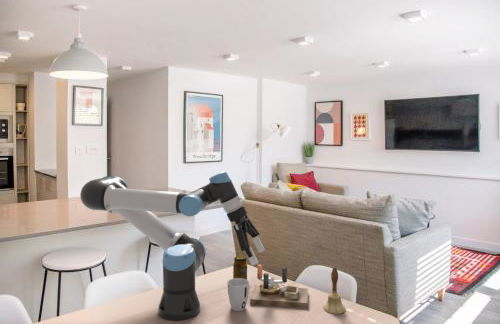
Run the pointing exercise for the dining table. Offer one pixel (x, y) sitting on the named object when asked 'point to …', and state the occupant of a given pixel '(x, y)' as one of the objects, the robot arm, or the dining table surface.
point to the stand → (281, 297)
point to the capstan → (270, 281)
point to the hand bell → (334, 297)
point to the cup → (238, 293)
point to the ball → (282, 289)
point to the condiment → (240, 267)
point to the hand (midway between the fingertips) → (258, 257)
